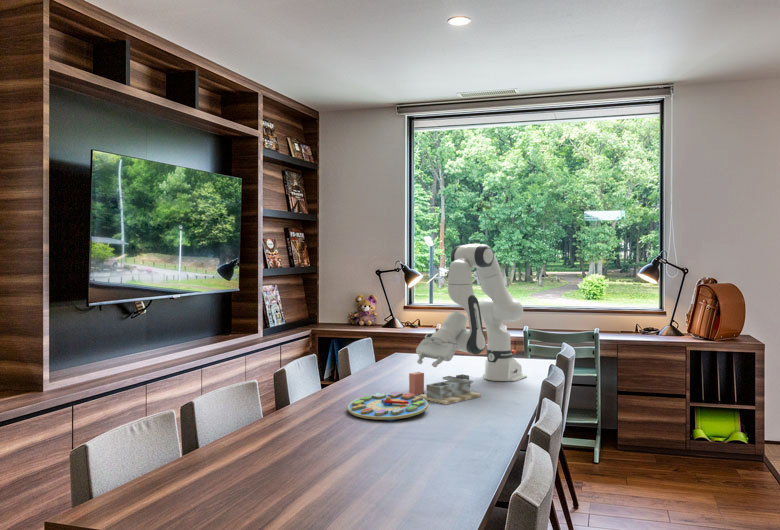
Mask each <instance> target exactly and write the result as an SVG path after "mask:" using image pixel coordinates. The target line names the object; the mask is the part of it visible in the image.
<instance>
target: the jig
mask: <svg viewBox="0 0 780 530" xmlns="http://www.w3.org/2000/svg"><path fill="white" fill-rule="evenodd" d="M442 380H444V381H439V382H433V383H429V384H426V393H424V394H420V395H417V396H418V397H423V399H426V401H428V400H430V401H429V402H433V401H434V402H433V403H437V402H438V404H441V403H442V404H441V405H445V404H447V405H451V404H450V403H452V404H455V403H454V402H456V403H460V402H464V401H463V400H465V401H468V400H467V399H469V400H472V399H471V398H474V399H477V398H476V397H478V398H481V397H480V396H482V393H479V392H476V391H475V392H474V391H471V384H475V383H474V380H472V379H470V375H467V374H462V373H461V374H456V375H455V376H452V375H448V376H442ZM459 401H460V402H459Z"/></svg>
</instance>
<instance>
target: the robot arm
mask: <svg viewBox="0 0 780 530" xmlns="http://www.w3.org/2000/svg"><path fill="white" fill-rule="evenodd" d="M450 262H451V263H450V264H449V268H448V276H447V292H448V296H449V298H450V300H452V301H453V303H455V304H457V305H458V306H460V307H462V309H464V310H465V312H466V314H467V316H466V315H465V314H464V313H462V312H459V311H452V312H451V313H450V314H448V316H447V317H446V318H445V319H444V321H443V323H442V325H441V327H440V328H438V329H437V331H434V332H430V333H427V334H425V336H424V339H422V340H421V341H420V343H419V344H418V346H417V347H416V349H415V352H416V354H417V355H418V360H417V361H416V362H417V364H418V365H422V364H423V363H424V361H423V359H425V358H427V359H433V360H435V361H433V362H432V364H431V366H432V367H433V368H437V367H438V365H440V364H441V363H443V362H450V361H452V359H453V357H454V356H455V355H456V354H455V353H456V352H457V351H459V352H464V353H469V354H473V355H480V354H481V353H482V352H483V351H484V350H485V348H486V347H487V349H486V359H485V363H484V365H485V366H484V373H483V374H482V376H483V379H485V380H487V381H494V382H517V381H519V380H521V379H526V378H527V377H528V375H527V374H524V373H523V369H522V368H523V367H522V364H520V362H518V361H517V360H516V359H515V358H514V356H513V355H516V353H517V350H515V349H511V341H512V340H511V338H512V337H511V336H512V335H511V334H510V332H509V330H507V329H506V327H505V326H504V323H503V322H505V323H514V322H518V321H520V320H521V319H522V318H523V315H524V307H523V305H522V303H521V302H520V301H518V300H517V299H516V298H514V296H513V295H512V293H510V291H509V290H508V288H507V286H506V284H505V282H504V281H505V280H504V278H503V274H502V270H501V267H500V264H499V261H498V259H497V257H496V255H495V253H494V251H493V249H492V247H491V246H489V245H488V244H483V243H481V244H478V243H469V244H460V245H456V246H454V247H453V248H452V250H451V253H450ZM473 269H476V273H477V277H478V280H479V285H480V287H481V291H482V292H483V293H484V294H485V295H486V296H487V297H488V298H487V297H486V298H482V299H480V300H479V299H478V297H476V295H475V293H474V289H473V276H472V271H473ZM467 320H468V325H469V330H468V329H467ZM483 324H484V326H485V327H484V328H485V330H486V335H487V338H486V335H485V332H484V328H483Z"/></svg>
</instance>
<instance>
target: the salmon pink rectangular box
mask: <svg viewBox="0 0 780 530" xmlns="http://www.w3.org/2000/svg"><path fill="white" fill-rule="evenodd" d="M408 381H409V382H408V383H409V384H408V390H409V391H408V393H411V394H415V395H416V396H418V395H417V394H420V395H421V394H422V393H424V394H425V373H424V372H420V371H416V372H410V373H408Z"/></svg>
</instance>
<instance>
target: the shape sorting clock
mask: <svg viewBox="0 0 780 530" xmlns="http://www.w3.org/2000/svg"><path fill="white" fill-rule="evenodd" d="M428 408H429V402H428V400H425V399H423V397H418V395H416V396H415V394H411V393H409V392H408V393H403V392H399V391H391V392H390V393H383V392H377V393H374V394H371V395H366V396H363V397H362V396H361V397H358V398H356V399H354V400H352V401H351V402H349V404H348V405H347V411H348V412H349V413H350V414H351V415H353V416H354V417H358V418H363V419H368V420H383V421H387V422H394V421H398V420H401V419H406V418H411V417H414V416H417V415H420V414H422V413H425V411H427V409H428Z"/></svg>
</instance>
